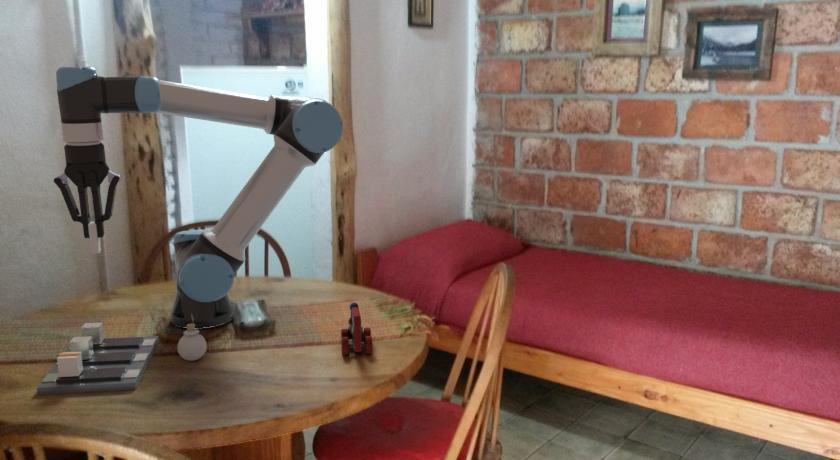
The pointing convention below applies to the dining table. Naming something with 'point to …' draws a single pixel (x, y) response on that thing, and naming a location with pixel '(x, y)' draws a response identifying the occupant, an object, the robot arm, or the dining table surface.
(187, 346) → the ornament
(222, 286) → the robot arm
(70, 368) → the knob
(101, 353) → the panel
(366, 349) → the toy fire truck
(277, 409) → the dining table surface
